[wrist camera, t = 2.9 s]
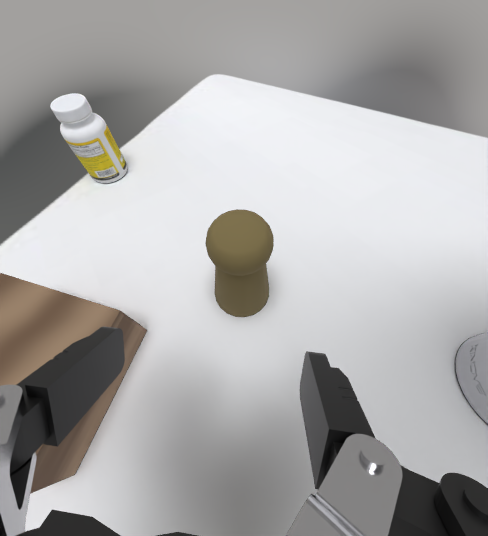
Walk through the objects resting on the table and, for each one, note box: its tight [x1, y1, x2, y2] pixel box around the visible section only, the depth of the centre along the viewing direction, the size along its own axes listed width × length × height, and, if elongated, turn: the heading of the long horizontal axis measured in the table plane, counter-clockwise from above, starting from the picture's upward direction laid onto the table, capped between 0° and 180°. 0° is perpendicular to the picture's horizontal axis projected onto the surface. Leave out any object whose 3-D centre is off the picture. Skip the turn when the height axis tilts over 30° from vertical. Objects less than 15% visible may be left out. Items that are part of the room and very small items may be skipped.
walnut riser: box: [0, 273, 147, 493], centre depth 20 cm, size 12×12×6 cm
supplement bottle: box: [50, 94, 127, 183], centre depth 32 cm, size 5×5×10 cm
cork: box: [206, 210, 273, 317], centre depth 22 cm, size 6×6×11 cm
